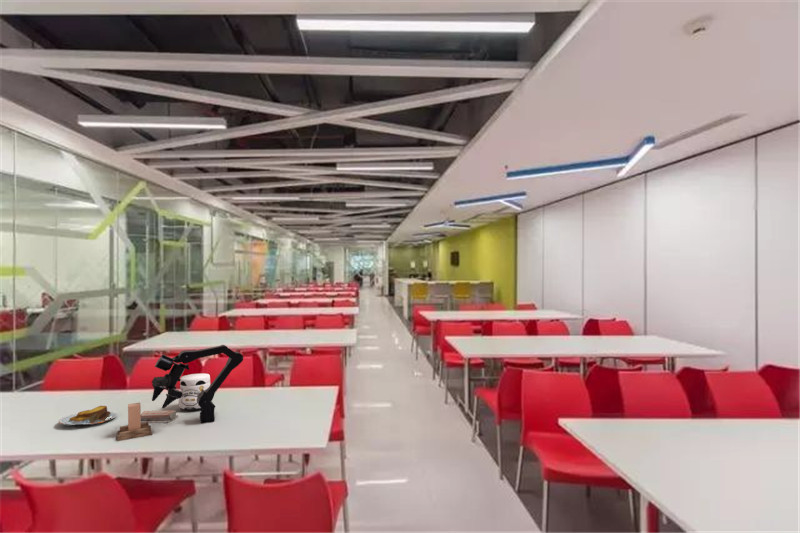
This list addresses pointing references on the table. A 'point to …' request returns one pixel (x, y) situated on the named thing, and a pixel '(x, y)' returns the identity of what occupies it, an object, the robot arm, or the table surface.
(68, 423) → the food on plate
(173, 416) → the packaged product
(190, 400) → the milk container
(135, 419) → the clay bar
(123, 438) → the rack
